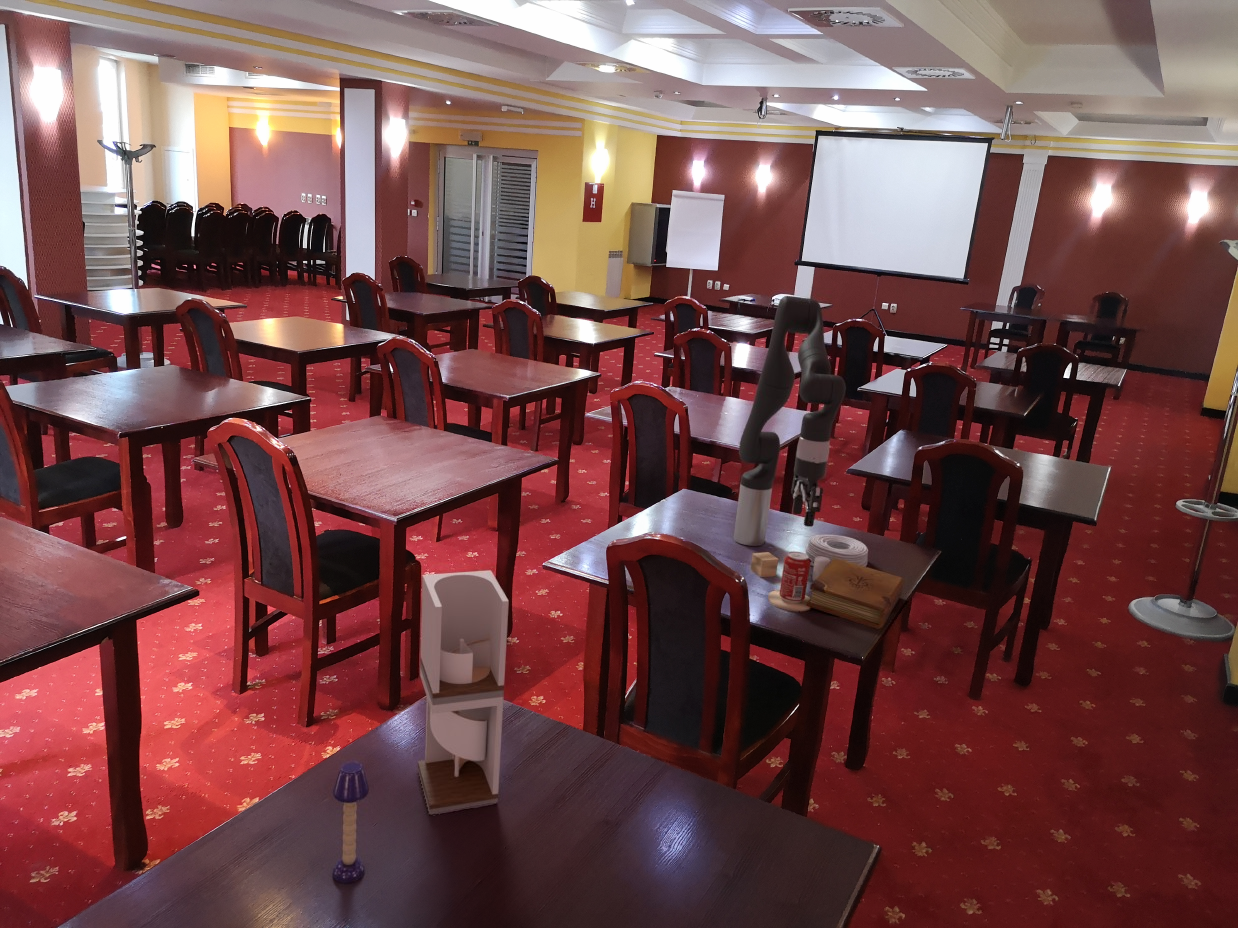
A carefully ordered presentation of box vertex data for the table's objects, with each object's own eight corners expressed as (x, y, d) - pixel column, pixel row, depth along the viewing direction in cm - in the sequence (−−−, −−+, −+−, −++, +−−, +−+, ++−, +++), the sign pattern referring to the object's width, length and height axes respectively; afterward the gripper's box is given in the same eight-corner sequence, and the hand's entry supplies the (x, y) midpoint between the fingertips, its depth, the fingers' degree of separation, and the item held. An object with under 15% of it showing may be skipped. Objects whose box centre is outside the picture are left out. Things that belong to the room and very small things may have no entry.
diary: (881, 630, 213) (886, 609, 212) (806, 606, 221) (810, 585, 220) (900, 597, 233) (905, 577, 231) (830, 576, 241) (834, 556, 239)
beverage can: (803, 595, 227) (809, 552, 224) (805, 606, 221) (812, 561, 218) (778, 592, 227) (784, 549, 224) (779, 603, 221) (786, 558, 218)
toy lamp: (337, 858, 126) (336, 756, 122) (370, 858, 127) (371, 757, 122) (329, 883, 122) (328, 778, 117) (364, 883, 122) (365, 778, 118)
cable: (800, 565, 250) (803, 545, 248) (808, 545, 266) (811, 526, 264) (863, 578, 245) (867, 558, 243) (868, 557, 261) (871, 538, 259)
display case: (417, 771, 147) (422, 574, 137) (481, 762, 151) (490, 570, 141) (429, 815, 137) (435, 606, 127) (497, 804, 140) (508, 600, 131)
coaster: (762, 592, 229) (763, 589, 229) (803, 592, 231) (803, 590, 231) (775, 611, 219) (776, 608, 218) (818, 611, 220) (819, 608, 220)
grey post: (810, 576, 242) (813, 555, 241) (825, 577, 242) (828, 556, 241) (813, 582, 238) (816, 561, 237) (828, 583, 238) (831, 562, 237)
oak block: (750, 570, 243) (752, 553, 241) (766, 569, 245) (768, 552, 243) (760, 577, 238) (762, 560, 237) (775, 576, 240) (778, 559, 239)
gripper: (787, 447, 220) (778, 509, 225) (807, 464, 207) (797, 529, 211) (816, 448, 222) (807, 510, 226) (837, 465, 208) (827, 530, 213)
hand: (802, 519), depth 219 cm, fingers open, 8 cm apart
